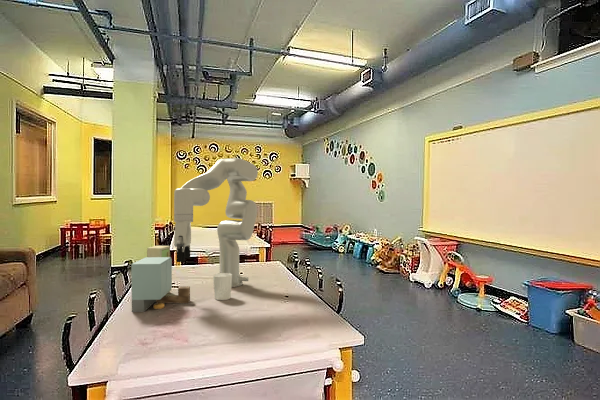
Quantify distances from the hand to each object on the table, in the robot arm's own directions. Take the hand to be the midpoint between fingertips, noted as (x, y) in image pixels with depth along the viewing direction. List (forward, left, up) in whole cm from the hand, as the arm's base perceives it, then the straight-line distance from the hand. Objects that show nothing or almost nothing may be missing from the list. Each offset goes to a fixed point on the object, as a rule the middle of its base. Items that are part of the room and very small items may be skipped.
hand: (183, 260), depth 163 cm
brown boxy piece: (+4, 0, -17) cm, 18 cm away
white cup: (-15, -5, -18) cm, 24 cm away
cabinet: (+11, +5, -17) cm, 21 cm away
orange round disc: (+8, +7, -18) cm, 21 cm away
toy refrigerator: (+14, -14, -18) cm, 26 cm away
